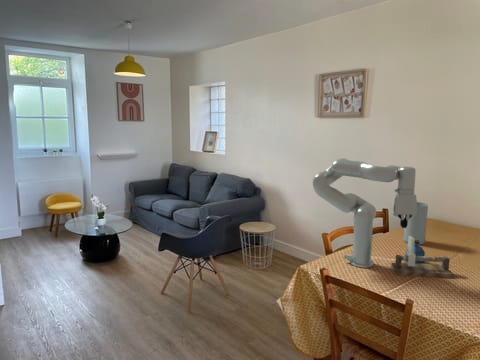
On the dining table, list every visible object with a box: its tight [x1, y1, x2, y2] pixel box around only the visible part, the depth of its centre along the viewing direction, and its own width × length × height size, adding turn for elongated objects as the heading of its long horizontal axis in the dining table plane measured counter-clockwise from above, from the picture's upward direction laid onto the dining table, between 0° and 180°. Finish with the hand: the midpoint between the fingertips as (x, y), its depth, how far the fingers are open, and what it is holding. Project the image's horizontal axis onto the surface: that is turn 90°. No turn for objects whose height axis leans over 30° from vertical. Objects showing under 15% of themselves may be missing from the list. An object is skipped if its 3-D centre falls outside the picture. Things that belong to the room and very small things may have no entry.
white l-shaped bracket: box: [403, 236, 416, 266], centre depth 182 cm, size 3×6×14 cm, turn 174°
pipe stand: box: [390, 254, 455, 279], centre depth 182 cm, size 26×12×8 cm, turn 84°
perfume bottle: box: [406, 240, 426, 264], centre depth 195 cm, size 6×6×12 cm
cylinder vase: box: [403, 201, 429, 246], centre depth 227 cm, size 12×12×25 cm
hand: (403, 227), depth 180 cm, fingers closed
